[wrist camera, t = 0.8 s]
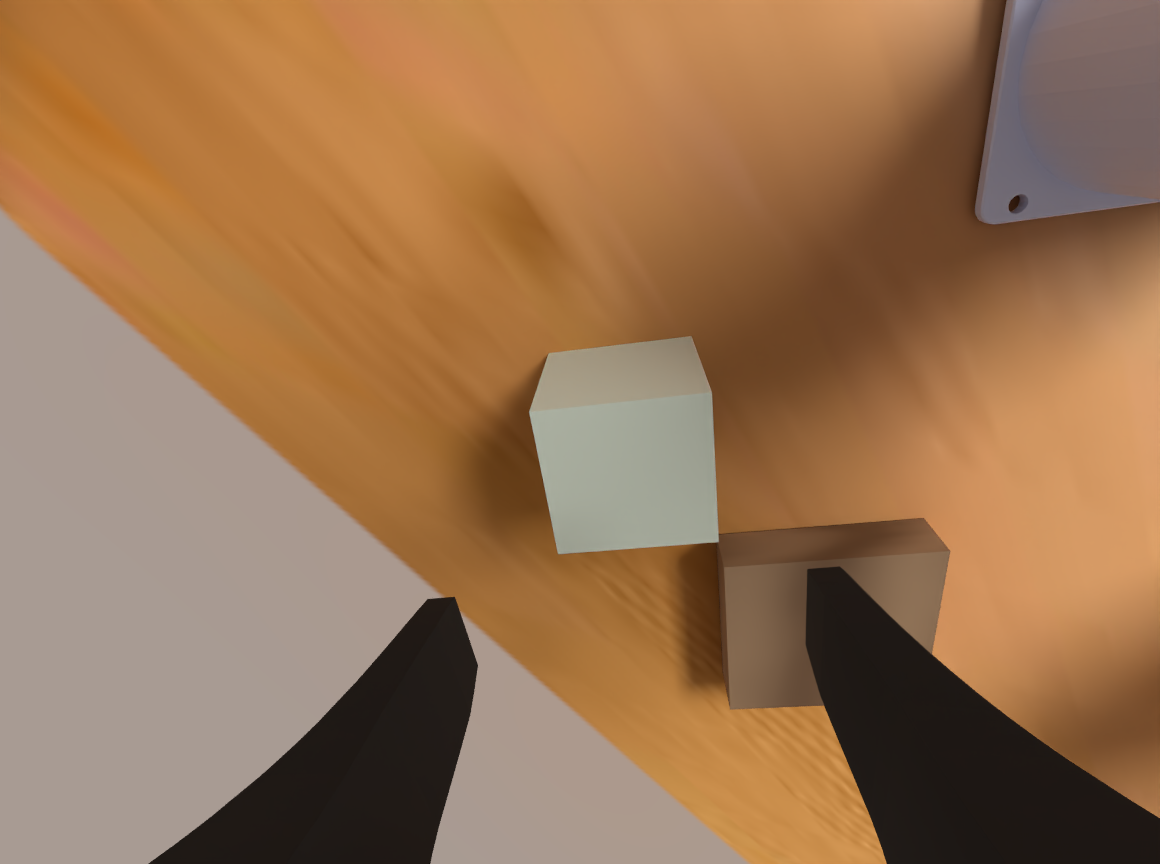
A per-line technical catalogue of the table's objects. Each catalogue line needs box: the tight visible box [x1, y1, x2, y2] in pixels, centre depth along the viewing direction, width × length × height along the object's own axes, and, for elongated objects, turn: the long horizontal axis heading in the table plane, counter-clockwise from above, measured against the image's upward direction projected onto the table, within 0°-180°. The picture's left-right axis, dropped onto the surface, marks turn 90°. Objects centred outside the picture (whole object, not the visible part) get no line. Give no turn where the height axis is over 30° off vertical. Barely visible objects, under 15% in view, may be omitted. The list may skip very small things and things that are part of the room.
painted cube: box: [529, 336, 719, 554], centre depth 19 cm, size 5×5×5 cm
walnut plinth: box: [716, 518, 950, 709], centre depth 24 cm, size 8×8×2 cm
